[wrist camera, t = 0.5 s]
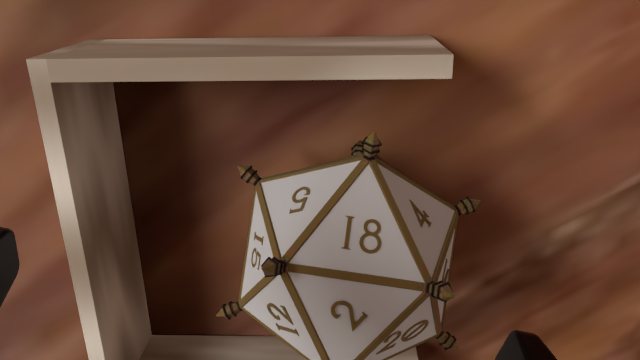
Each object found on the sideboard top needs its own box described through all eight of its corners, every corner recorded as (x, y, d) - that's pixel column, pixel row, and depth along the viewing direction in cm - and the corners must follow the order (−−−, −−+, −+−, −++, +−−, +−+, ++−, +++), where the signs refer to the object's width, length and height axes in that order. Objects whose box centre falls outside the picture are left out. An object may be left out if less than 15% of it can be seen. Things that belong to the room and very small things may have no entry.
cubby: (413, 350, 25) (427, 427, 21) (141, 347, 26) (102, 422, 22) (430, 35, 20) (453, 54, 16) (90, 39, 21) (26, 59, 16)
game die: (377, 149, 26) (576, 161, 17) (351, 330, 26) (535, 430, 17) (193, 114, 21) (341, 109, 12) (161, 337, 21) (288, 482, 13)
